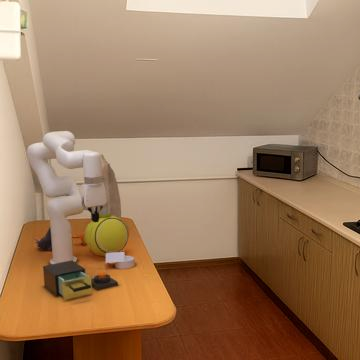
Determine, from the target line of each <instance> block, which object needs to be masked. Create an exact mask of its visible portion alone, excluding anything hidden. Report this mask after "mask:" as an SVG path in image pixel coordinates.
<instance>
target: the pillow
mask: <svg viewBox="0 0 360 360" xmlns="http://www.w3.org/2000/svg"><path fill="white" fill-rule="evenodd" d="M100 155H101V169H102V177H105V180H103V183H104V186H105V191H106V199H107V201H108V213H110V214H111V215H112V216H115V217H117V218H119V219H120V220H121V221H122V206H121V205H122V203H121V196H120V195H121V194H120V191H119V186H118V182H117V178H116V174H115V171H114V169H113V168H112V167H111V164H110V163H109V162H108V161H107V159H106V158H105V156H104V155H103V154H101V153H100ZM94 209H95V207H94ZM100 213H101V211H100ZM100 213H99V214H100Z"/></svg>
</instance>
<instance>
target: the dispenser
mask: <svg viewBox="0 0 360 360" xmlns="http://www.w3.org/2000/svg"><path fill="white" fill-rule="evenodd" d="M81 271H82V272H83V273H85V274H86V268H84V267H83V266H82V265H80V264H79V263H77V262H74V261H72V260H71V261H66V262H61V263H56V264H46V265H43V266H42V272H43V285H44V288H45V289H47V290H48V291H49V292H50V293H51V294H53V295H54V296H55V297H60V296H62V295H61V294H60V293H59V292H58V283H57V277H58V276H62V275H67V274H71V273H76V272H81Z"/></svg>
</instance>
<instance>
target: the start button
mask: <svg viewBox="0 0 360 360" xmlns="http://www.w3.org/2000/svg"><path fill="white" fill-rule="evenodd" d="M106 274H107V273H106V272H104V271H103V272H98V273H97V275H98V278H106Z"/></svg>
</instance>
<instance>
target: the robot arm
mask: <svg viewBox="0 0 360 360" xmlns="http://www.w3.org/2000/svg"><path fill="white" fill-rule="evenodd" d="M75 144H76V137H75V134H74V133H72V132H71V131H69V130H61V131H59V130H57V131H49V132H47V133H46V134H44V135H43V137H42V141H41V142H35V143H32V144H30V145H29V146H28V147H27V149H26V158H27V161H28V164H29V166H30V167H31V169H32V170H33V172H34V173H35V174H36V177H37V179H38V183H39V184H40V187H41V189H42V192H43V194H44V195H45V197H46V198H49V199H50V198H51V199H50V200H49V201H48V202H47V204H46V210H47V214H48V218H49V225H50V226H49V228H50V227H51V240H52V250H51V251H52V258H50V260H49V265H51V264H56V263H61V262H66V261H71V260H72V261H74V262H75V263H77V261H78V258H77V257H76V256H74V246H73V245H74V244H73V238H72V235H73V231H72V224H71V222H70V221H69V220H68V219H67V217H71V216H76V215H81V214H83V212H84V211H88V212H89V213H90V218H91V219H90V220H91V221H93V222H99V213H100V211H101V209H102V208H104V207H106V206H107V205H106V203H107V199H106V191H105V186H104V183H103V180H105V177H102V169H101V152H98V151H93V150H90V149H82V150H75ZM54 159H55V160H56V161H57V163H58V164H59V165H60V166H61V167H63V168H65V169H68V170H75V169H82V168H83V183H82V185H81V191H80V189H79V186H78V183H77V182H76V180H75V179H74V178H73V177H72V176H69V175H63V176H58V175H57V172H56V170H55V169H54V167H53V166H52V165H51V164H50V163H49V162H47V161H46V160H54ZM94 207H95V208H94Z"/></svg>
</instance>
